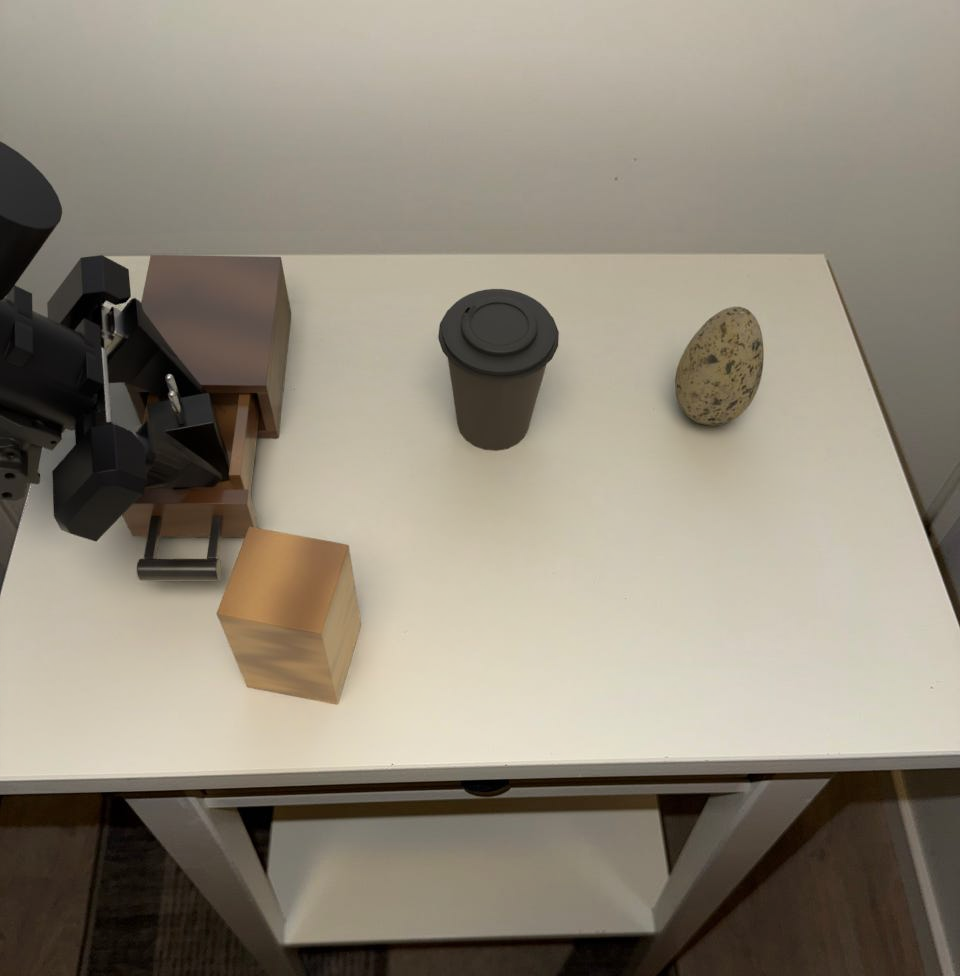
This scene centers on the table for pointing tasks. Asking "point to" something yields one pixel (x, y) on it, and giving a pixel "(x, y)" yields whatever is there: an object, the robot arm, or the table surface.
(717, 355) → the decorative egg
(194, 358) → the cabinet
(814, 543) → the table surface
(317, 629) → the pedestal
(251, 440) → the drawer
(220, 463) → the black wall charger
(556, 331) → the coffee cup
